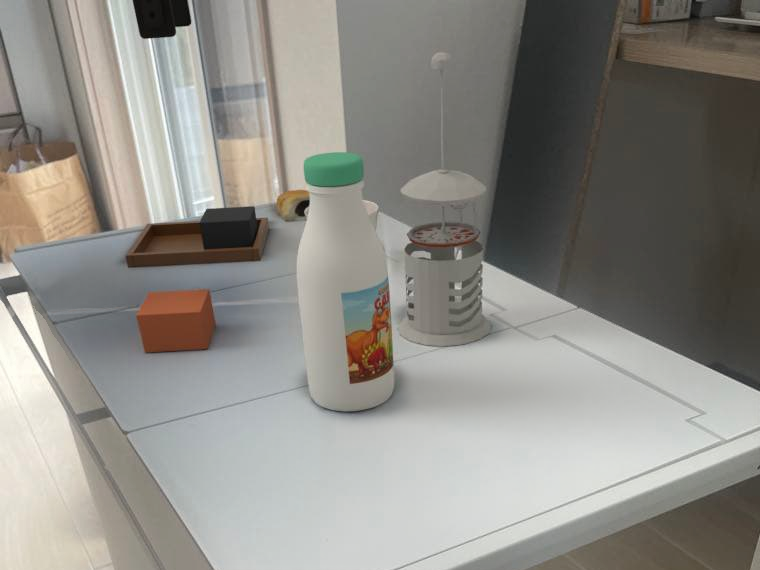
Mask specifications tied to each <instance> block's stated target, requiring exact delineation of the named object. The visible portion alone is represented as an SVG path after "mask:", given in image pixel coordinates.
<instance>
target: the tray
mask: <svg viewBox="0 0 760 570" xmlns="http://www.w3.org/2000/svg"><path fill="white" fill-rule="evenodd" d="M256 220H257V228H258V232H257V236H256V239H255V242H254V245H253V247H243V248H224V249H205V250H204V247H203V242H202V236H201V230H200V225H199V222H200V220H194V221H193V220H191V221H175V222H174V221H173V222H171V221H170V222H156V223H155V222H154V223H153V222H152V223H146V225H145V226H144V228H143V229H142V230H141V232H140V233H139V234H138V236H137V238H136V239H135V240H134V242H133V244H132V245H131V246H130V248H129V249H128V251H127V252H126V254H125V256H124V257H125V260H126V265H127V268H128V269H132V268H151V267H154V268H155V267H170V266H171V267H173V266H187V265H189V266H191V265H206V264H207V265H208V264H209V265H210V264H227V263H244V262H260V261H261V260H262V256H263V252H264V249H265V245H266V241H267V240H268V239H267V238H268V235H269V231H270V225H269V217H256Z"/></svg>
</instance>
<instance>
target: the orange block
mask: <svg viewBox="0 0 760 570" xmlns="http://www.w3.org/2000/svg"><path fill="white" fill-rule="evenodd" d="M211 295H212V294H211V291H210V288H202V289H201V288H200V289H185V290H166V291H149V292H148V293H147V294H146V296H145V298H144V300H143V302H142V303H141V305H140V307H139V309H138V311H137V313H136V315H135V317H136V321H137V326H138V330H139V335H140V339H141V342H142V343H141V344H142V346H143V351H144V353H145V354H146V353H160V352H161V353H163V352H164V353H165V352H181V351H194V350H195V351H198V350H199V351H200V350H208V349H209V347H210V343H211V339H212V337H213V334H214V331H215V328H216V326H217V323H216V319H215V318H216V317H215V312H214V306H213V301H212V296H211Z"/></svg>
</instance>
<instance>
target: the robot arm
mask: <svg viewBox="0 0 760 570" xmlns="http://www.w3.org/2000/svg"><path fill="white" fill-rule="evenodd" d="M132 4H133V9H134V14H135V19H136V23H137V28H138V34H139V36H140V37H141V39H142V40H143V39H144V40H148V39H150V40H151V39H162V38H173V37H175V36H176V35H177V28H182V27H190V26H191V25H192V16H191V11H190V6H189V0H132Z"/></svg>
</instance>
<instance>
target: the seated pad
mask: <svg viewBox="0 0 760 570" xmlns="http://www.w3.org/2000/svg"><path fill="white" fill-rule="evenodd" d="M256 218H257V215H256V207H255V206H254V205H251V206H249V205H248V206H233V207H213V208H205V211H204V212H203V215H202V216H201V219H200V220H199V221H200V222H199V225H200V230H201V236H202V242H203V247H204V250H205V249H224V248H243V247H253V245H254V242H255V239H256V236H257V232H258V228H257V220H256Z"/></svg>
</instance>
